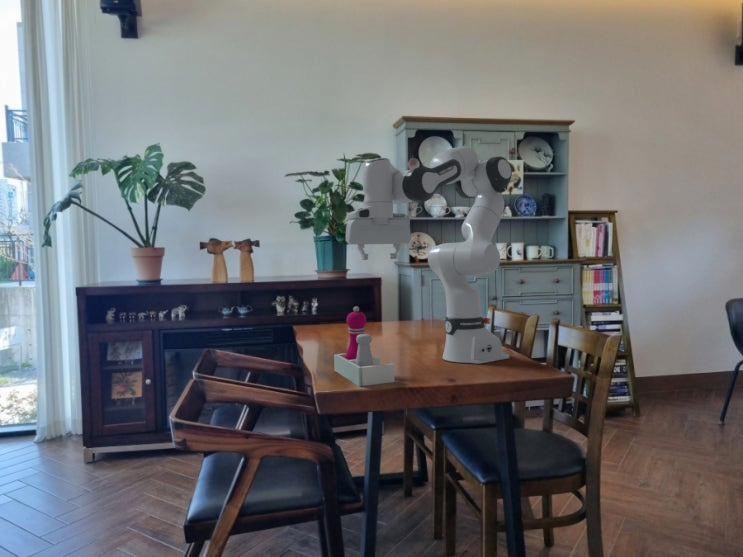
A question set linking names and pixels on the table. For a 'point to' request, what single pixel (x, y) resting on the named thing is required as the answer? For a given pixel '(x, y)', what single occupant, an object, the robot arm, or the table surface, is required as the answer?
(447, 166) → the robot arm
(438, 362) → the table surface
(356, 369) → the condiment rack
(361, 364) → the salt shaker
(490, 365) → the table surface
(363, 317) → the pepper mill
